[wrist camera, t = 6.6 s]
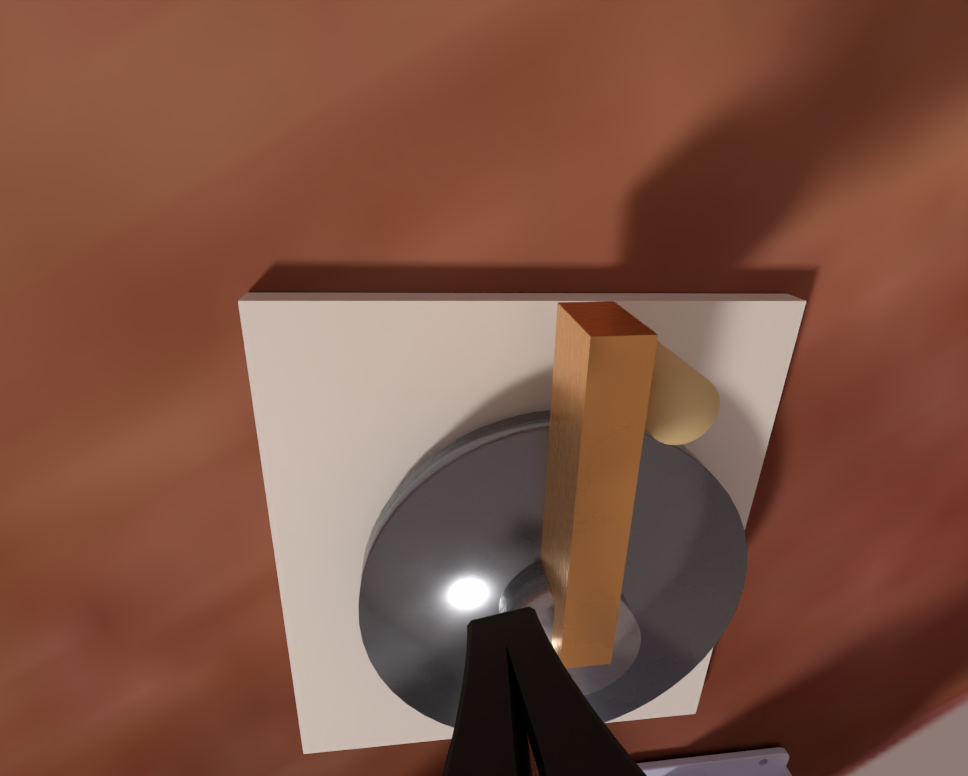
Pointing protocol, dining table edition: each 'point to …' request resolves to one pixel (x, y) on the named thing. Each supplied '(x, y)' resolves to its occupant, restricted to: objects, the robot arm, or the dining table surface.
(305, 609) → the base board
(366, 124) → the dining table surface
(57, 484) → the dining table surface
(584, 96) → the dining table surface
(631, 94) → the dining table surface
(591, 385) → the dial
